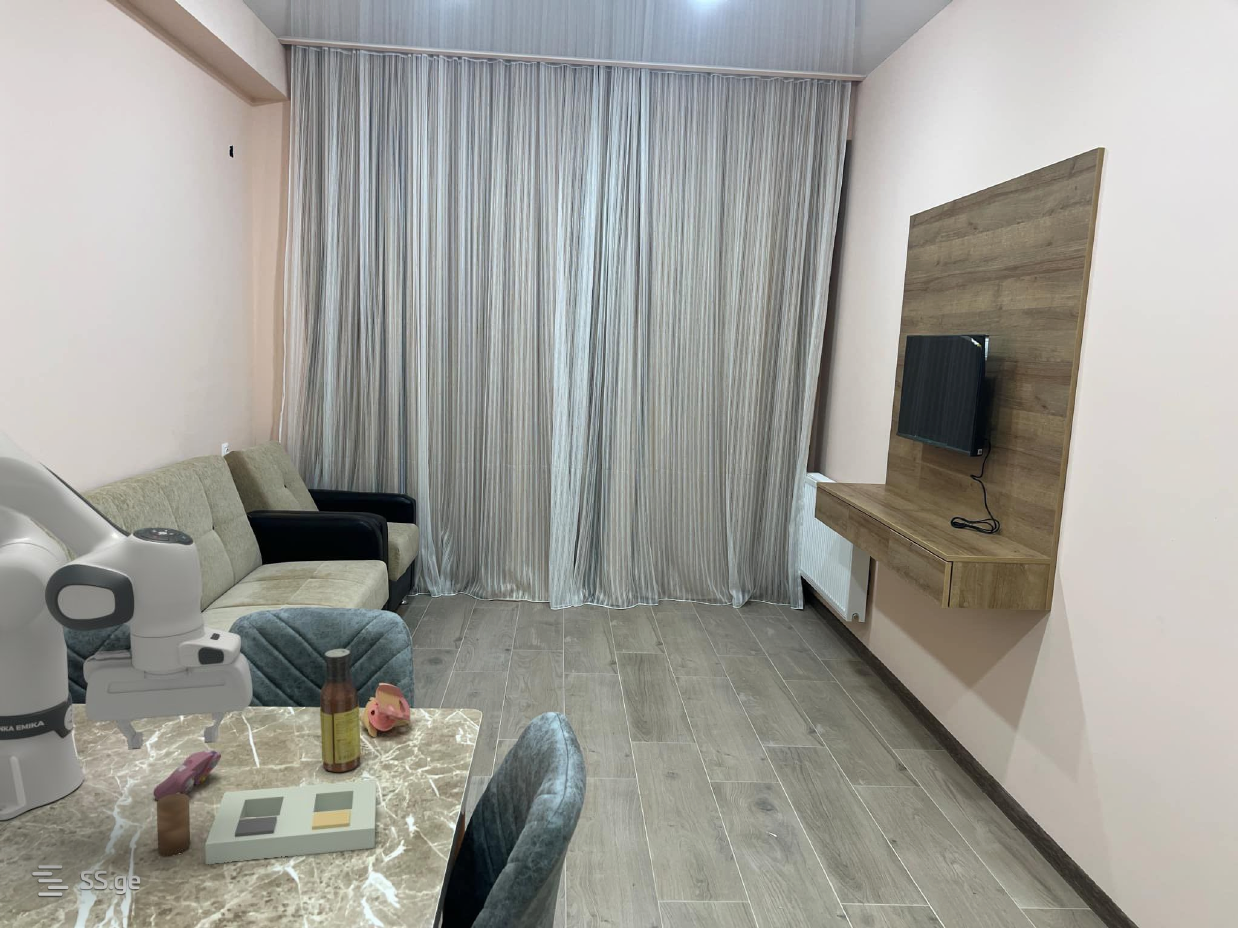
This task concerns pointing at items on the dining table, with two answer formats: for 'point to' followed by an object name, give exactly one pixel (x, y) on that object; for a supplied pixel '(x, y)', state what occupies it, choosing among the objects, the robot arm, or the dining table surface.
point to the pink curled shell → (385, 710)
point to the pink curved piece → (188, 774)
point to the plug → (173, 824)
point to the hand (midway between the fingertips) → (174, 744)
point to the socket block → (293, 821)
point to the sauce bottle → (339, 715)
